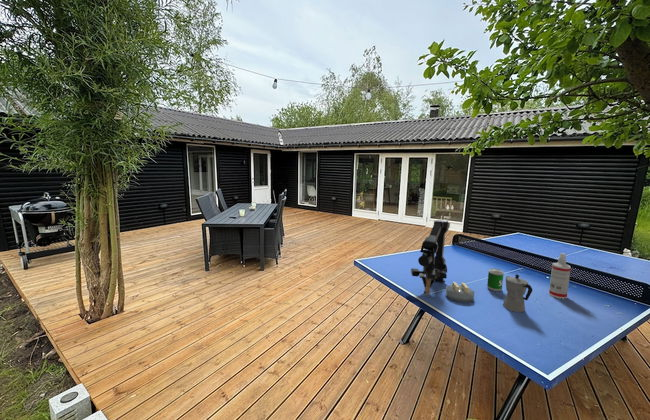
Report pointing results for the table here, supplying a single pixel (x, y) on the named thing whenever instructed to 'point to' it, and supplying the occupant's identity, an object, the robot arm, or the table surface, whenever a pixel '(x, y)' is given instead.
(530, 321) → the table surface
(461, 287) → the blue-grey bowl
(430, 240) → the robot arm
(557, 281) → the white squeeze bottle
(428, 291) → the tall brown wooden block
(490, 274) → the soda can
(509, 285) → the coffeepot
